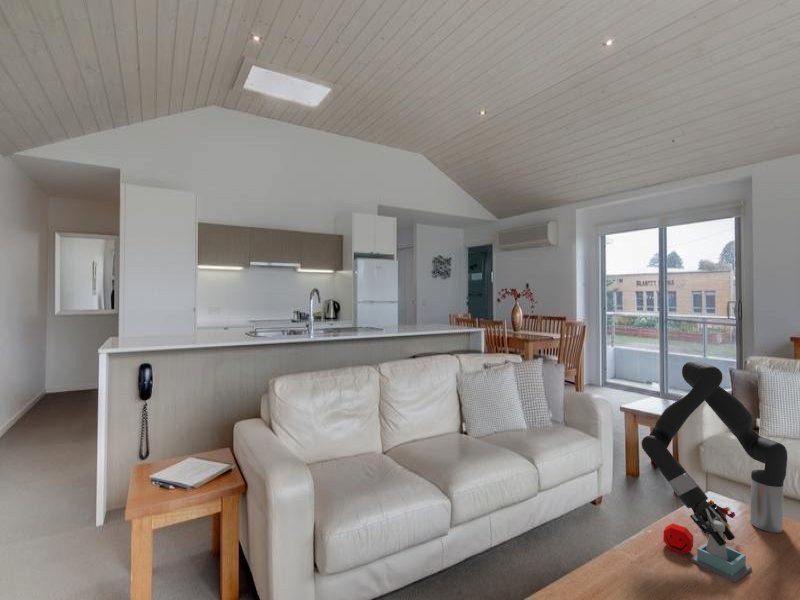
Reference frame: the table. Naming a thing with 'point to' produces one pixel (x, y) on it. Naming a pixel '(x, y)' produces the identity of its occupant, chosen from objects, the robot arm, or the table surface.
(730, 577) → the stand
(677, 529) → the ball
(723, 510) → the book monster
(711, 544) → the salt shaker
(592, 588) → the table surface
